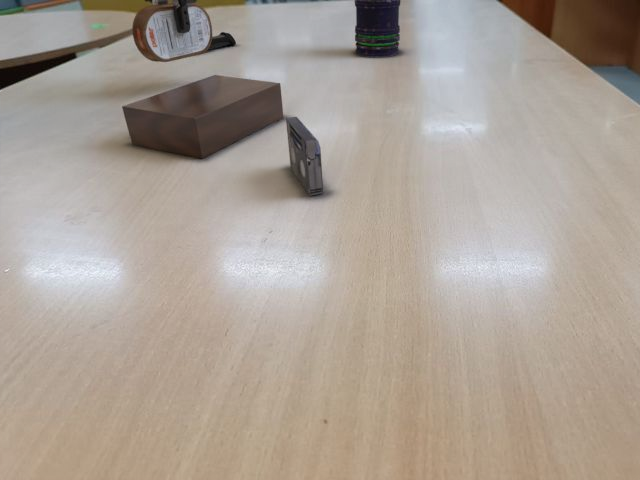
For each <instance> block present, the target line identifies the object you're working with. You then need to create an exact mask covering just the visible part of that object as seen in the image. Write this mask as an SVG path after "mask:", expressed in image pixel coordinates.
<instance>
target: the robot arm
mask: <svg viewBox="0 0 640 480" xmlns="http://www.w3.org/2000/svg"><path fill="white" fill-rule="evenodd" d="M169 1H170V0H144V2H146V3H147V2H149V3H151V4H152V5H161V4H169V3H170V2H169ZM197 1H198V0H171V3H173V6H174V7H175V8H174V9H173V11H174V16H175V21H176V27H177V31H178V33H187V32H189V31H190V19H189V14H188V6H189V5H190V4H192V3H194V4H197Z"/></svg>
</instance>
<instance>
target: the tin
mask: <svg viewBox="0 0 640 480" xmlns="http://www.w3.org/2000/svg"><path fill="white" fill-rule="evenodd" d="M174 8H175V7H174V6H173V3H172V2H171V3H170V2H169V3H168V4H161V5H153V4H151V5H146V6H144V7H141V8H140V9H139V10H138V12H136V14H135V16H134V17H133V22H132V27H131V28H132V29H131V31H132V38H133V41H134V44H135V46H136V48H137V50H138V51H139V53H140V54H141V55H142V56H143V57H144V58H145V59H147V60H149V61H152V62H156V63H157V62H161V63H168V62H173V61H178V60H181V59H182V60H183V59H187V58H190V57H195V56H200V55H204V54H205V53H206V52H207V50H208V48H209V47H210V45H211V42H212V37H213V25H212V21H211V18H210V15H209V13H208V12H207V10H206V9H205V8H203V7H202V5H199V4H198V3H192V4H190V5H189V6H188V14H189V19H190V31H189V32H187V33H178V31H177V27H176V21H175V16H174V11H173V9H174ZM208 51H209V50H208Z"/></svg>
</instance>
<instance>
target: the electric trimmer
mask: <svg viewBox="0 0 640 480" xmlns="http://www.w3.org/2000/svg"><path fill="white" fill-rule="evenodd" d="M236 44H237V42H236V40H235V38H234V37H233V35H232V34H231V33H229V32H225V31H222V32H220V33H219V34H218V35H214V36H212V42H211V45H210V47H209V48H208V50H207V51H210V49H216V48H220V47H226V46H232V47H234V46H236ZM207 51H206V52H207Z"/></svg>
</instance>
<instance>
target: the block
mask: <svg viewBox="0 0 640 480" xmlns="http://www.w3.org/2000/svg"><path fill="white" fill-rule="evenodd" d="M282 97H283V96H282V87H281V83H280V82H274V81H267V80H266V81H265V80H258V79H251V78H241V77H234V76H227V75H218V74H213V75H211V76H208V77H204V78H201V79H199V80H196V81H192V82H190V83H187V84H183V85H181V86H178V87H176V88H175V87H174V88H172V89H169V90H166V91H163V92H160V93H158V94H155V95H152V96H148V97H145V98H142V99H140V100H136V101H134V102H130V103H128V104H124V105H122V106H121V109H122V113H123V115H124V119H125V123H126V127H127V131H128V135H129V139H130V142H131V145H134V146H139V147H143V148H148V149H152V150H153V149H154V150H159V151H163V152H168V153H172V154H173V153H174V154H177V155H183V156H187V157H193V158H197V159H202V160H203V159H205V158H207V157H208V156H210V155H213V154H215V153H216V152H219V151H221V150H222V149H224V148H227V147H229V146H230V145H232V144H234V143H236V142H238V141H241V140H242V139H244V138H246V137H248V136H250V135H252V134H254V133H256V132H258V131H260V130H261V129H265V128H266V127H268V126H270V125H271V124H273V123H276V122H278V121H280V120H282V119H284V106H283V98H282Z"/></svg>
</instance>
